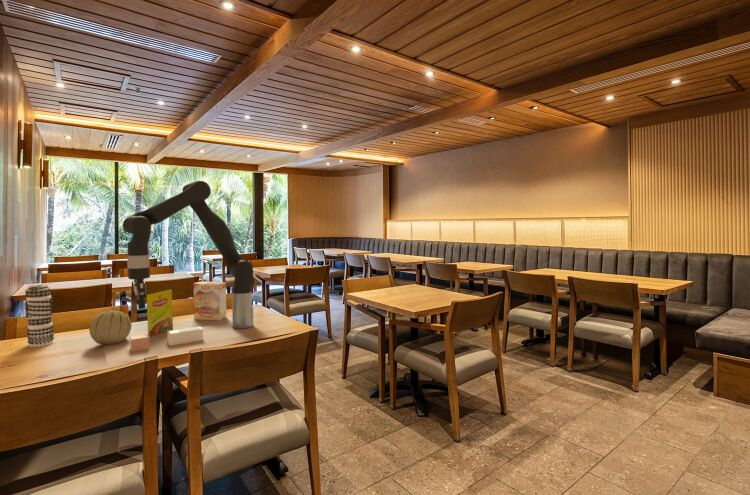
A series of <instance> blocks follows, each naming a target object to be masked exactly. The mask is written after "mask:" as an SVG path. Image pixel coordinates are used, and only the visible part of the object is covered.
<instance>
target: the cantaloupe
mask: <svg viewBox="0 0 750 495" xmlns="http://www.w3.org/2000/svg"><path fill="white" fill-rule="evenodd" d="M131 330H132V320H131V318H130V317H129V315H128V314H126V313H125V312H123V311H121V310H116V308H115V307H113V308H112V310H111V309H109V310H104V311H101V312H100V313H98V314H96V315H95V316H94V317H93V319H92V321H91V322H90V324H89V330H88V331H89V332H88V333H89V335H90V337H91V338H92V341H94V342H95V343H97V344H99V345H103V346H106V345H112V344H113V345H114V344H118V343H122V342H123V341H124V340H126V339H127V338H128V336H129V335H130V334H131Z"/></svg>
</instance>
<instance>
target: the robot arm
mask: <svg viewBox="0 0 750 495" xmlns="http://www.w3.org/2000/svg"><path fill="white" fill-rule="evenodd" d="M211 193H212V189H211V187H210V185H209V184H208V183H207V182H206V181H204V180H194V181H191V182H189V183H186V184H185V185H184V186H183V187H182V192H180V193H178V194H176V195H173V196H171V197H169V198H165V199H164V200H162V201H160V202H157V203H155V204H154V205H152V206H150V207H148V208H147V209H145V210H142V211H139V212H137V213H134V214H132V215H129V216H127V217H126V218H125V219H124V220H123V222H122V229H123V230H124V232H126V233H128V234H130V235H132V237H131V240H129V241H128V242H127V245H126V246H127V249H126V250H127V276H128V277H127V278H128V280H133V284H132V285H133V292H134V295H135V304H136V306H138V307H137V308H138V309H139V310H142V309H145V308H146V299H147V289H146V288H147V284H146V282H145V281H144V280H146V279H149V278H151V265H150V257H149V242H150V238H151V234H152V233H151V232H152V225H157V224H160V223H162V222H163V221H165V220H167V219H169V218H171V217H172V216H173V215H175V214H177V213H179V212H180V211H182V210H184V209H186V208H188V207H190V208H191V209H192V211H193V212H194V213H195V215H196V216H197V218H198V220H199V221H200V223H201V225H202V226H203V227H204V229H205V231H206V233H207V234H208V236H209V237H210V239H211V242H212V243H213V245H214V246H215V247H216V249H217V250H218V252H219V253H220V254H221V256H222V258H223V260H224V262H225V264H226V266H227V269H228V271H229V273H230V275H231V276H232V277H234V285H233V286H232V287H231V304H232V305H231V307H232V309H231V311H232V315H231V316H232V328H233V329H247V328H250V327H251V328H252V327H253V326H254V306H253V302H252V300H253V299H252V297H253V296H252V295H253V294H252V292H253V291H252V290H253V286H254V266H253V265H252V263H251V262H249V261H248V260H245V259H244V258H242V257H241V255H240V253H239V252H238V250H237V249H236V246H235V242H234V238H233V235H232V233H231V230H230V229H229V227H228V225H227V223H226V222H225V221H224V220H223V219H222V218H221V217H220V216H219V215H218V214H216V213H215V212H214V211H213V210H212V209H211V208H210V207H209V206H208V204H207V202H206V200H207V199H209V197H210V196H211Z"/></svg>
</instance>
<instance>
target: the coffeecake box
mask: <svg viewBox="0 0 750 495" xmlns="http://www.w3.org/2000/svg"><path fill="white" fill-rule="evenodd" d="M226 286H227V284H226V282H225V281H224V282H222V281H221V282H219V281H197V282H194V283H193V316H194V317H193V320H204V321H222V320H224V319H226V318H227V287H226Z"/></svg>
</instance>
